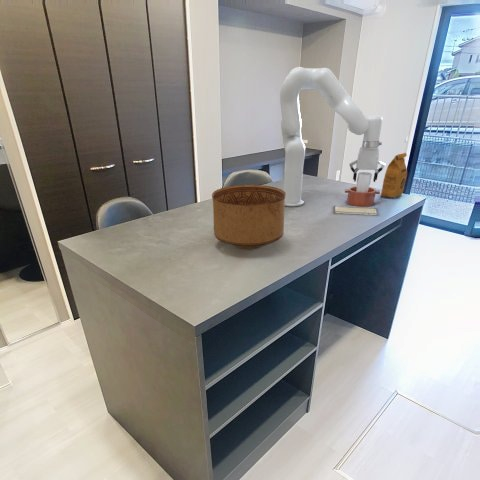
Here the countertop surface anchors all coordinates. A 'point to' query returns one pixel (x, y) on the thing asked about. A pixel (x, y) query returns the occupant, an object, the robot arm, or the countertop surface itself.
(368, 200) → the cooking pot
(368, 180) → the drinking glass
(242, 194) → the pot
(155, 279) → the countertop surface
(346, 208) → the tea towel
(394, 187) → the coffee package
